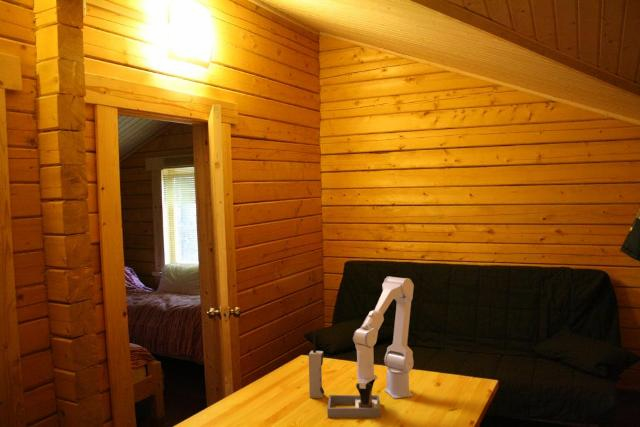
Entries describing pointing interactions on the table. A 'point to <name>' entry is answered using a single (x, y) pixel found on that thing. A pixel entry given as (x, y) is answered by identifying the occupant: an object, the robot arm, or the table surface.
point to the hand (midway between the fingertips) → (366, 401)
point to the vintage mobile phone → (315, 372)
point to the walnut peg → (369, 401)
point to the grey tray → (355, 411)
